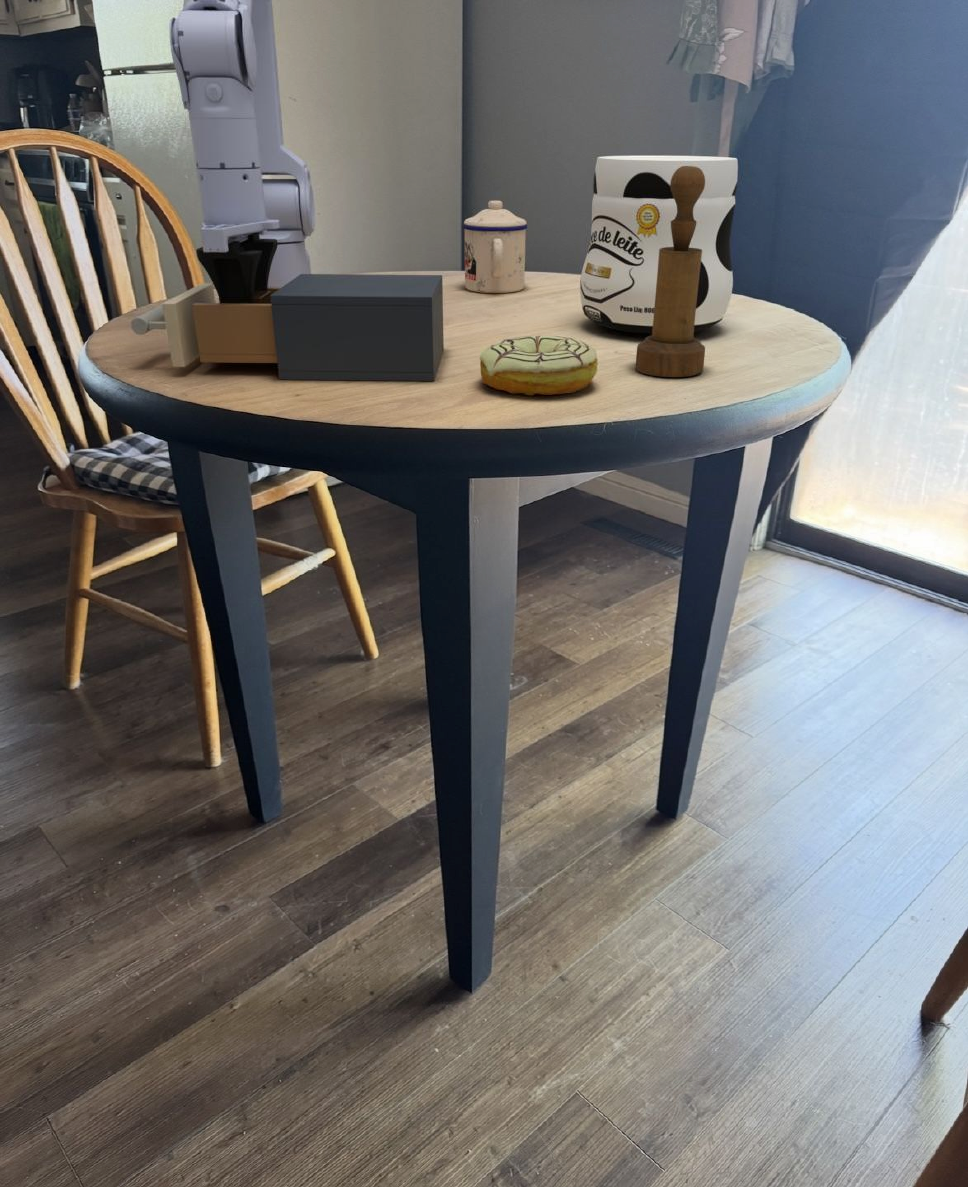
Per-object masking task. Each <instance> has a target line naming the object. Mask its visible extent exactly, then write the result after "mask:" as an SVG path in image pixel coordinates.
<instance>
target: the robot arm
mask: <svg viewBox="0 0 968 1187" xmlns="http://www.w3.org/2000/svg"><path fill="white" fill-rule="evenodd" d="M273 9H274V8H273V0H183V5H182V10H179V12H178V15H177V17H176V18H175V16H174V17H173V16H172V17H171V18H170V21H169V45H170V52H171V56H172V58H171V59H172V62H173V66H174V70H175V74H176V76H177V80H178V83H179V84H178V85H179V87H180V89H179V90H180V94H181V102H182V105H183V109H184V110H187V112H188V118H189V119H188V120H189V126H190V133H191V135H190V136H191V141H192V148H193V156H194V162H195V163H194V164H195V169H196V177H197V185H198V192H199V199H200V206H201V213H202V220H201V228H200V237H201V245H202V246H201V247H198V248H196V249H195V251H196V257H197V260H198V262H199V263H200V264H201V265H202V268H204V269H205V271H206V273H207V275H208V277H209V279H210V281H211V282H212V284H213V287H214V290H215V291H216V293H217V296H218V300H219V299H220V302H221V303H238V304H254V291H267V288H268V287H283V286H285V285H286V284H287V283H289V282H290V281H292V280H293V279H294V278H296V277H297V276H299V275H300V274H312V268H311V267H312V266H311V259H310V255H309V253H308V251H307V249H306V242H305V240H306V239H307V238H308V237H311V236H312V234H313V233H314V232H315V229H316V210H315V199H314V190H313V186H312V180H311V171H310V169H309V168H308V166H307V164H306V162H305V161H304V160H302V159H301V158H300V157H299V156H297V155H296V154H295V153H294V152H292V150H290V149H288V148H287V146H285V142H284V131H283V119H282V106H281V95H280V82H279V70H278V69H279V68H278V58H277V46H276V45H277V44H276V34H275V24H274V22H275V21H274V10H273ZM263 176H292V177H293V178H263Z"/></svg>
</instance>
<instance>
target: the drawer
mask: <svg viewBox="0 0 968 1187" xmlns="http://www.w3.org/2000/svg"><path fill="white" fill-rule="evenodd" d="M280 288H282V287H268V288H267V291H270V292H271V295H272V294H273V293H275V292H276V291H278V290H279V289H280ZM214 290H215V288H214V284H213V282H212V283H211V282H201V283H200V284H197V285H195V286H193V287H192V288H190V289H188V290H186V291H183V292H182V293H180V294H178V295H176V296H173V297H172V298H170V299H168V300H166V301H165V302H163V303H161V304H160V305H157V306H155V307H154V308H152V309H149V310H148V311H146V312H144V313H142V314H140V315H138V316H136V317H135V318H133V319H132V320H131V321H130V328H131V329H132V331H133V333H135V334H137V335H139V336H143V335H145V334H147V333H149V332H151V331H152V330H166V335H167V341H168V347H169V348H168V349H169V353H170V360H171V365H172V367H173V368H186V366H187V367H188V365H189V364H191V363H192V362H193V361H195V360H196V359H197V358H199V360H200V363H223V364H225V363H226V364H227V363H230V364H231V363H232V364H233V363H234V364H237V363H238V364H278V363H277V353H276V344H275V335H274V326H273V316H272V307H271V305H272V304H238V303H219V302H216V298H215V291H214Z"/></svg>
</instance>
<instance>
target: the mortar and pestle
mask: <svg viewBox="0 0 968 1187" xmlns="http://www.w3.org/2000/svg"><path fill="white" fill-rule="evenodd" d="M704 187H705V176H704V173H703V172H702V170H701V169H700V168H698V167H693V166H682V167H680V168H678V169H677V170H676V171H675V173H674V174H673V176H672V179H671V183H670V188H671V192H672V195H673V197H674V200H675V202H676V205H677V215H676V217H675V219H674V220H672V221H671V232H672V239H673V246H674V247H665V248H660V249H659V260H658V272H657V284H656V295H655V307H654V319H653V331H652V334H651V335H649V336H646V337H645V338H644V340H643V341H641V342H639V344H637V347H636V355H635V370H636V372H639V373H641V374H644V375H647V376H653V377H664V378H685V377H693V376H695V375H701V373H703V371H704V367H705V366H704V365H705V357H706V356H705V354H706V347H705V345H704V344H703V343H701V341H700V340H699V339H698V338H696V337H694V333H695V331H694V323H695V312H696V302H697V292H698V283H699V274H700V265H701V257H702V250H701V249H697V248H689V245H690V242H691V239H692V237H693V234H694V231H695V227H696V223H697V222H696V221H695V220H694V217H693V208H694V205H695V204H696V202H697V200H698V199H699V197H700V195H701V194H702V192H703V190H704Z"/></svg>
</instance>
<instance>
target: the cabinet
mask: <svg viewBox="0 0 968 1187" xmlns="http://www.w3.org/2000/svg"><path fill="white" fill-rule="evenodd" d="M443 285H444V284H443V275H441V274H363V273H362V274H361V273H360V274H359V273H358V274H357V273H355V274H353V273H352V274H347V273H345V274H343V273H337V274H336V273H335V274H334V273H332V274H331V273H311V274H300V275H299V276H297V277H296V278H294V279H293V280H292V281H290V282H289V283H287V284H286V285H285V286H283V287H282V288H280V289H279V290H278V291H276V292H275V293H273V294H272V295H270V298H271V304H272V305H271V307H272V316H273V326H274V335H275V344H276V353H277V363H276V364H277V370H278V379H279V380H292V381H294V380H299V381H376V382H377V381H378V382H379V381H381V382H386V381H387V382H388V381H390V382H392V381H393V382H435V379H436V376H437V373H438V369H439V367H440V363H441V360H442V356H443V354H444V350H445V348H444V346H445V345H444V344H445V343H444V292H443V289H444V288H443Z"/></svg>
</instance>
